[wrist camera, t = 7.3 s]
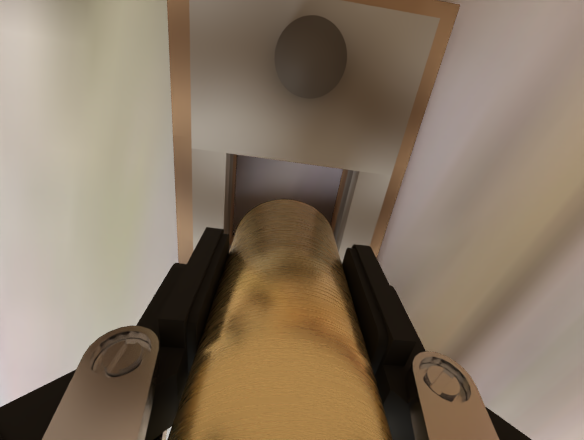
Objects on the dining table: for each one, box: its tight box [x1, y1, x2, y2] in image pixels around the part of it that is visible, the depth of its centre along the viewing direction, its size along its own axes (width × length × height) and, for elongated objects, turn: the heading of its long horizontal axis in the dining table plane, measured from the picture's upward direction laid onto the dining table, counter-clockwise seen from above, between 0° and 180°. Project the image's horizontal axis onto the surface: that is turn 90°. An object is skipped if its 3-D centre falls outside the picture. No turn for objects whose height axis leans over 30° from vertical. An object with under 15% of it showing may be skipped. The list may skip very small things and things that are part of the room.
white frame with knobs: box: [167, 0, 460, 264], centre depth 15 cm, size 20×12×4 cm, turn 172°
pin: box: [168, 199, 393, 440], centre depth 7 cm, size 4×4×9 cm
